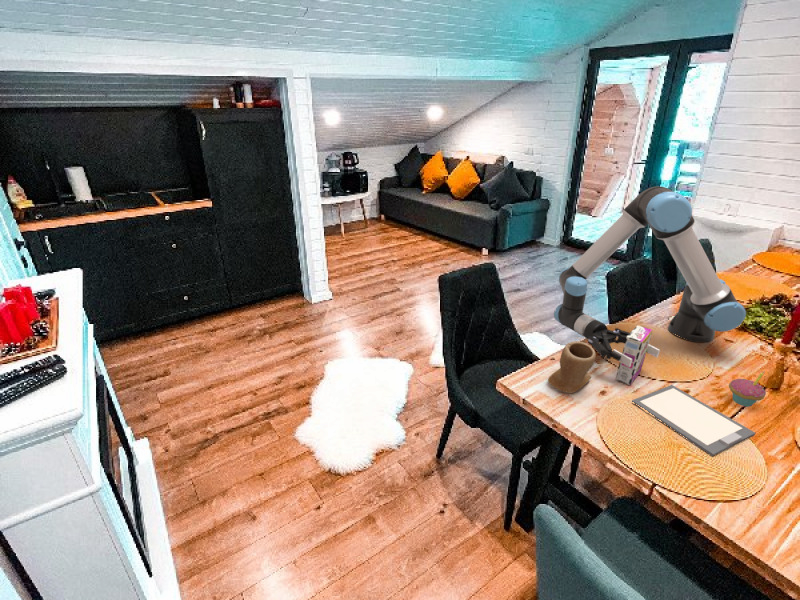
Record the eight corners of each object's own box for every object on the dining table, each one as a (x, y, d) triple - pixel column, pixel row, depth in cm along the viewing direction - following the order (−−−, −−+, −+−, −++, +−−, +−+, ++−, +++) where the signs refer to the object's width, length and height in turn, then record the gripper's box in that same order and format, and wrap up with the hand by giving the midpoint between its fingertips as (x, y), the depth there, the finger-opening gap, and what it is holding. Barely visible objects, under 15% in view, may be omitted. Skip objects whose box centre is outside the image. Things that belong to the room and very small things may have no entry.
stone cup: (576, 402, 128) (584, 360, 122) (542, 384, 137) (548, 344, 130) (601, 382, 137) (609, 343, 130) (567, 367, 145) (574, 329, 139)
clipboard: (671, 386, 134) (672, 382, 133) (754, 435, 114) (756, 430, 113) (631, 402, 127) (632, 398, 127) (712, 456, 108) (714, 451, 107)
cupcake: (761, 401, 127) (775, 367, 122) (758, 415, 121) (772, 380, 116) (727, 389, 132) (739, 357, 127) (722, 402, 127) (734, 369, 122)
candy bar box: (631, 386, 135) (642, 342, 128) (614, 380, 138) (625, 336, 131) (642, 371, 142) (653, 329, 135) (626, 366, 145) (636, 324, 138)
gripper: (613, 330, 157) (667, 359, 139) (563, 345, 148) (614, 377, 130) (617, 312, 154) (673, 339, 136) (566, 326, 145) (619, 357, 127)
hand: (644, 358), depth 133 cm, fingers closed on candy bar box, 12 cm apart
